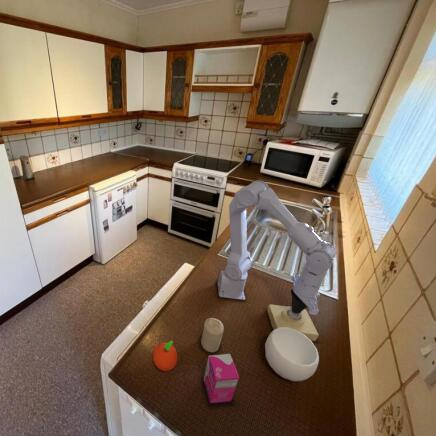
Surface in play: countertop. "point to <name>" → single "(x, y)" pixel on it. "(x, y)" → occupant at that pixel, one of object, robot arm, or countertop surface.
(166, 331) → the countertop surface
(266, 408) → the countertop surface
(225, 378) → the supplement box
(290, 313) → the grey pebble
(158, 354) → the clementine
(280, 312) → the square plate with button
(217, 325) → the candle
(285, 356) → the white bowl
